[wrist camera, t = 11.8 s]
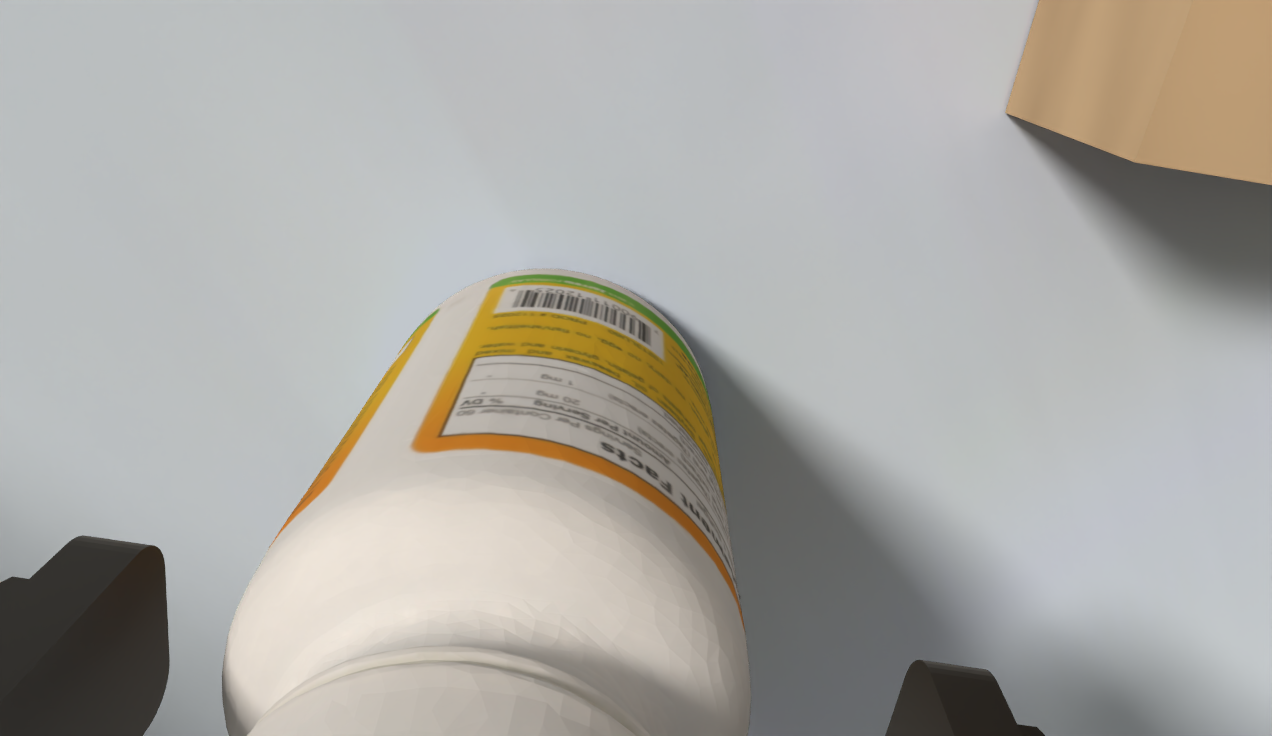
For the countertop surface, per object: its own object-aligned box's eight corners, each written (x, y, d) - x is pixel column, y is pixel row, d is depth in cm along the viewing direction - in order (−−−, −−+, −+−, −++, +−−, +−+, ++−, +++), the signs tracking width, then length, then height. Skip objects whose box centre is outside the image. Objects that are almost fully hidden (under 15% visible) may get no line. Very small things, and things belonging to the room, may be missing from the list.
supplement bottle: (487, 588, 17) (311, 1252, 8) (332, 340, 15) (-112, 847, 6) (759, 484, 16) (893, 1103, 7) (630, 206, 14) (598, 581, 5)
